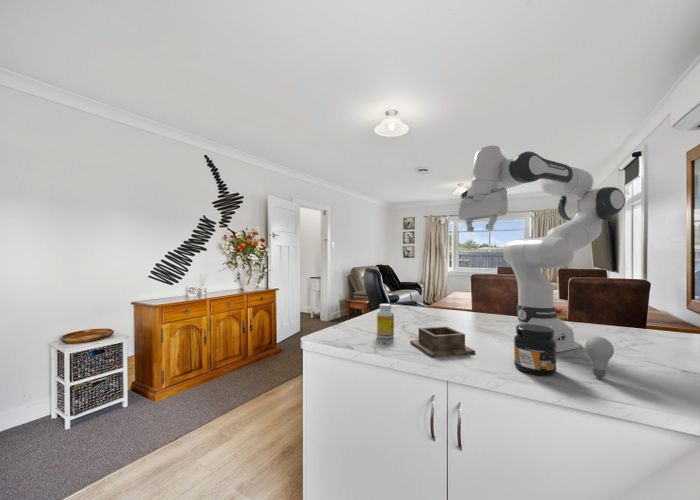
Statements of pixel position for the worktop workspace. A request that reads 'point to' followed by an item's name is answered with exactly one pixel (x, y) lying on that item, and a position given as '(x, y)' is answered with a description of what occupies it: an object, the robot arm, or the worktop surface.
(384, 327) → the supplement bottle
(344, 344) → the worktop surface
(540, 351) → the supplement container
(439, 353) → the bottle caddy
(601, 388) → the worktop surface
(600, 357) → the lightbulb
